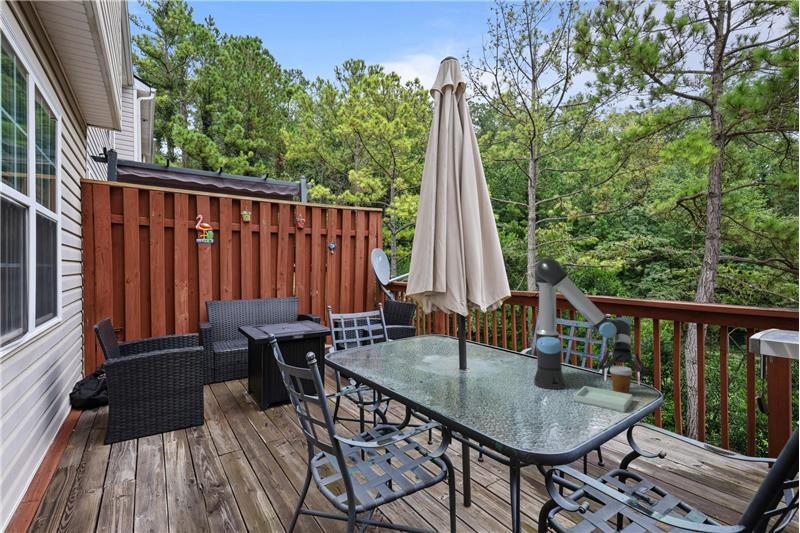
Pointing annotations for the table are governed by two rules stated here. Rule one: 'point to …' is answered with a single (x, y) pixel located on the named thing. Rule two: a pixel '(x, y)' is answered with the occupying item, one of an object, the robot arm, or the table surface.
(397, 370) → the table surface
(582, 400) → the sage tray
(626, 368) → the disposable coffee cup
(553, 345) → the robot arm
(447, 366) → the table surface
